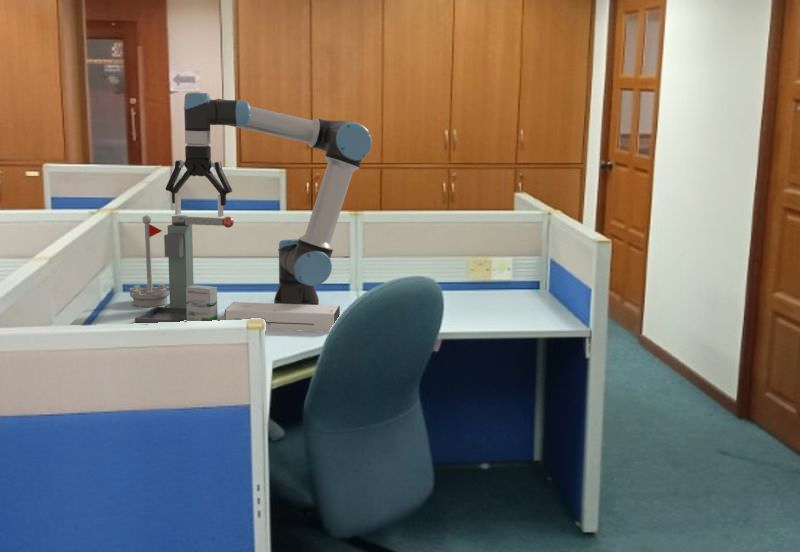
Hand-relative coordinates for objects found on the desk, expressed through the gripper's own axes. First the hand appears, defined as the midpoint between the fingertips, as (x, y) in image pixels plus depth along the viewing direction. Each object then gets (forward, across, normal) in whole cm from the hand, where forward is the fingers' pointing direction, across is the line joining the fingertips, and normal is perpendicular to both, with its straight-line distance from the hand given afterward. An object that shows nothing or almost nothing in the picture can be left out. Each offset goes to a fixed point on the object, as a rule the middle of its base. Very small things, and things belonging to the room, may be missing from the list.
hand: (199, 215), depth 282 cm
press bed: (+34, +13, -3) cm, 37 cm away
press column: (+34, +14, -17) cm, 40 cm away
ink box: (+34, 0, 0) cm, 34 cm away
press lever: (+6, +6, -18) cm, 20 cm away
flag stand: (+34, +27, -22) cm, 49 cm away
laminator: (+35, -25, -4) cm, 43 cm away
